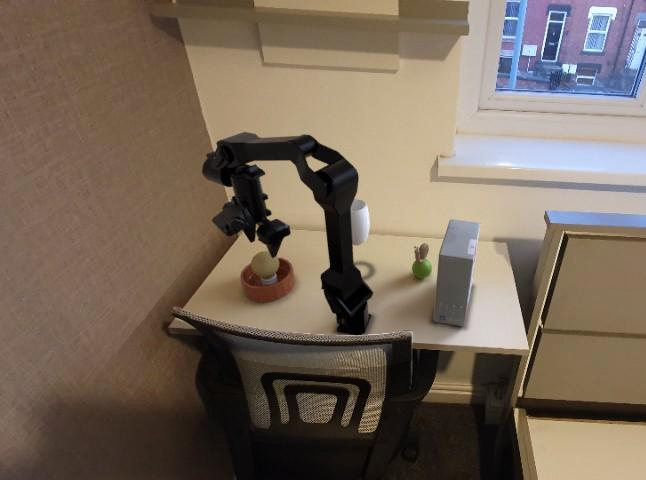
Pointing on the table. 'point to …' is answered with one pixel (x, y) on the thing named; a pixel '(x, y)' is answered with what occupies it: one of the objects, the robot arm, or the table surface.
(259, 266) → the light bulb
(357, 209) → the cup
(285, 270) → the bowl
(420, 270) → the snail figurine
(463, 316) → the hard drive box
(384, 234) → the table surface
